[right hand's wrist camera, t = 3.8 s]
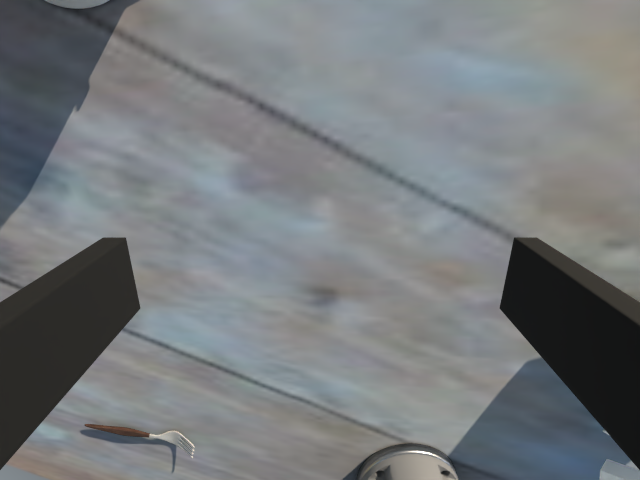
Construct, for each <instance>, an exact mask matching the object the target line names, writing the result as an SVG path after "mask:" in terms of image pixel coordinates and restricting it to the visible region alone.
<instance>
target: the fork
mask: <svg viewBox="0 0 640 480" xmlns="http://www.w3.org/2000/svg"><path fill="white" fill-rule="evenodd" d="M85 426H86V427H90V428H93V429H97V430H102V431H106V432H111V433H115V434H119V435H124V436H135V437H151V438H158V439H162V440H165V441H167V442H170V443H172V444H174V445H177V446H178V447H180V448H181V449H183V450H184V451H185V452H186V453H187V454H188V455H190V456H191V457H192V458H193V456H192V455H193V454H194V453H193V452H192V451H191V450H190V449H189V448H191V449H192V450H193V451H194V449H193V448H192V447H191V446H190V445H189V444H191V445H192V446H193V447H195V446H194V445H193V444H192V443H191V442H190V441H189V440H188V439H187V438H185V437H184V436H183V435H182V434H180V433H179V432H177V431H168V432H166V433H163V434H160V435H153V434H149V433H146V432H142V431H138V430H135V429H131V428H125V427H114V426H103V425H94V424H85ZM181 437H182V438H183V439H185V440H186V441H187V442H188V443H189V444H188V443H187V442H185V441H184V440H183V439H182V438H181ZM181 441H182V442H184V443H185V444H186V445H187V446H188V447H189V448H188V447H187V446H186V445H184V444H183V443H182V442H181ZM180 444H181V445H182V446H184V447H185V448H186V449H187V450H188V451H189V452H191V453H192V455H191V454H190V453H189V452H188V451H187V450H186V449H185V448H183V447H182V446H181V445H180Z"/></svg>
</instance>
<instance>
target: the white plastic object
mask: <svg viewBox="0 0 640 480" xmlns="http://www.w3.org/2000/svg"><path fill="white" fill-rule="evenodd" d="M603 432H604V433H606V434H608V433H607V432H606V430H605V429H603ZM608 435H609V434H608ZM609 436H610V435H609ZM600 480H640V470H637V469H635V468H632V467H629V466H626V465H623V464H621V463H618V462H615V461H612V460H609V459H606V461H605V463H604V464H603V466H602V468H601V469H600Z"/></svg>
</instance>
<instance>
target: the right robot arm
mask: <svg viewBox="0 0 640 480" xmlns="http://www.w3.org/2000/svg"><path fill="white" fill-rule="evenodd" d="M139 309H140V304H139V299H138V295H137V290H136V285H135V280H134V275H133V270H132V265H131V261H130V256H129V251H128V246H127V241H126V238H102V239H100V240H99V241H97V242H96V243H94V244H92V245H91V246H89V247H88V248H86V249H84V250H83V251H81V252H80V253H78V254H76V255H75V256H73V257H72V258H70V259H69V260H67V261H65V262H64V263H62V264H61V265H59V266H57V267H56V268H54V269H53V270H51V271H49V272H48V273H46V274H45V275H43V276H42V277H40V278H38V279H37V280H35V281H34V282H32V283H30V284H29V285H27V286H26V287H24V288H23V289H21V290H19V291H18V292H16V293H15V294H13V295H11V296H10V297H8V298H7V299H5V300H3V301H2V302H0V470H1V468H2V467H3V466H4V465H5V464H6V463H7V462H8V460H9V459H10V458H11V457H12V456H13V455H14V453H15V452H16V451H17V450H18V449H19V448H20V447H21V445H22V444H23V443H24V442H25V441H26V440H27V438H28V437H29V436H30V435H31V434H32V433H33V432H34V430H35V429H36V428H37V427H38V426H39V425H40V424H41V422H42V421H43V420H44V419H45V418H46V417H47V415H48V414H49V413H50V412H51V411H52V410H53V409H54V407H55V406H56V405H57V404H58V403H59V402H60V400H61V399H62V398H63V397H64V396H65V395H66V394H67V392H68V391H69V390H70V389H71V388H72V387H73V385H74V384H75V383H76V382H77V381H78V380H79V379H80V377H81V376H82V375H83V374H84V373H85V372H86V370H87V369H88V368H89V367H90V366H91V365H92V364H93V362H94V361H95V360H96V359H97V358H98V357H99V355H100V354H101V353H102V352H103V351H104V350H105V349H106V347H107V346H108V345H109V344H110V343H111V342H112V340H113V339H114V338H115V337H116V336H117V335H118V334H119V332H120V331H121V330H122V329H123V328H124V327H125V325H126V324H127V323H128V322H129V321H130V320H131V319H132V317H133V316H134V315H135V314H136V313H137V312H138V310H139ZM500 309H501V310H502V312H503V313H504V314H505V315H506V316H507V317H508V319H509V320H510V321H511V322H512V323H513V324H514V325H515V327H516V328H517V329H518V330H519V331H520V332H521V334H522V335H523V336H524V337H525V338H526V339H527V340H528V342H529V343H530V344H531V345H532V346H533V347H534V349H535V350H536V351H537V352H538V353H539V354H540V355H541V357H542V358H543V359H544V360H545V361H546V362H547V364H548V365H549V366H550V367H551V368H552V369H553V370H554V372H555V373H556V374H557V375H558V376H559V377H560V379H561V380H562V381H563V382H564V383H565V384H566V385H567V387H568V388H569V389H570V390H571V391H572V392H573V394H574V395H575V396H576V397H577V398H578V399H579V400H580V402H581V403H582V404H583V405H584V406H585V407H586V409H587V410H588V411H589V412H590V413H591V414H592V415H593V417H594V418H595V419H596V420H597V421H598V422H599V424H600V425H601V426H602V427H603V428H604V429H605V430H606V432H607V433H608V434H609V435H610V436H611V437H612V438H613V440H614V441H615V442H616V443H617V444H618V445H619V447H620V448H621V449H622V450H623V451H624V452H625V453H626V455H627V456H628V457H629V458H630V459H631V460H632V462H633V463H634V464H635V465H636V466H637V467H638V468H639V470H640V302H638V301H637V300H635V299H633V298H632V297H630V296H629V295H627V294H625V293H624V292H622V291H621V290H619V289H617V288H616V287H614V286H613V285H611V284H610V283H608V282H606V281H605V280H603V279H602V278H600V277H598V276H597V275H595V274H594V273H592V272H591V271H589V270H587V269H586V268H584V267H583V266H581V265H579V264H578V263H576V262H575V261H573V260H571V259H570V258H568V257H567V256H565V255H564V254H562V253H560V252H559V251H557V250H556V249H554V248H552V247H551V246H549V245H548V244H546V243H544V242H543V241H541V240H540V239H538V238H514V241H513V246H512V251H511V256H510V261H509V265H508V270H507V275H506V280H505V285H504V290H503V295H502V299H501V304H500ZM357 480H459V479H458V476H457V473H456V471H455V468H454V465H453V463H452V462H451V460H450V459H449V458H448V457H447V456H446V455H445V454H444V453H442V452H441V451H439V450H437V449H435V448H432V447H430V446H426V445H421V444H400V445H394V446H390V447H387V448H385V449H382V450H380V451H378V452H376V453H375V454H373V455H372V456H371V457H369V458H368V459H367V460H366V461H365V462H364V463H363V465H362V466H361V468H360V470H359V472H358V475H357Z"/></svg>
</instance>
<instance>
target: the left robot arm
mask: <svg viewBox="0 0 640 480" xmlns="http://www.w3.org/2000/svg"><path fill="white" fill-rule="evenodd" d="M44 1H46V2H49V3H51V4H54V5H57V6H61V7H65V8H74V9H84V8H91V7H95V6H98V5H101V4H104V3H106V2H108V1H110V0H44Z"/></svg>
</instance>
